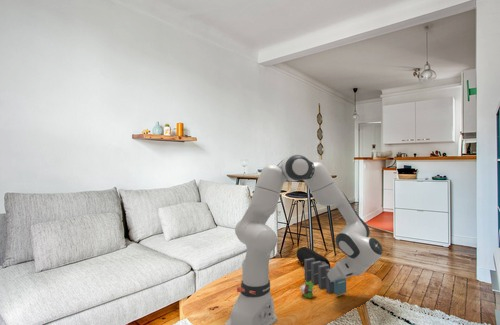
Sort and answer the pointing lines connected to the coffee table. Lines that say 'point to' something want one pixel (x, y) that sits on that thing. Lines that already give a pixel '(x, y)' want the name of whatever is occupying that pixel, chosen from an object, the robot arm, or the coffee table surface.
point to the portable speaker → (310, 256)
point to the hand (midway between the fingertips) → (339, 278)
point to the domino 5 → (340, 286)
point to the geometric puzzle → (307, 289)
